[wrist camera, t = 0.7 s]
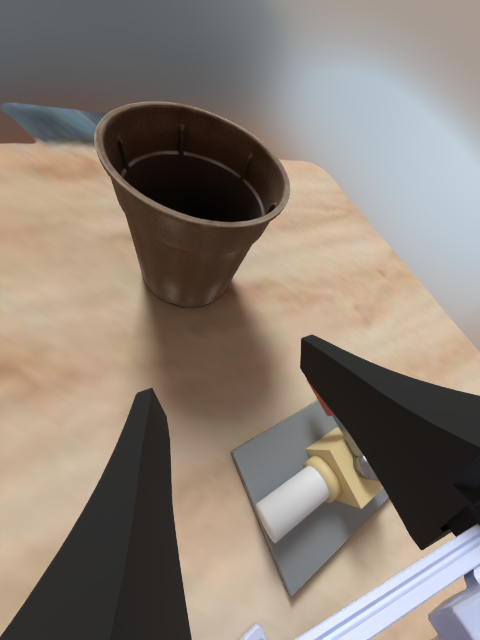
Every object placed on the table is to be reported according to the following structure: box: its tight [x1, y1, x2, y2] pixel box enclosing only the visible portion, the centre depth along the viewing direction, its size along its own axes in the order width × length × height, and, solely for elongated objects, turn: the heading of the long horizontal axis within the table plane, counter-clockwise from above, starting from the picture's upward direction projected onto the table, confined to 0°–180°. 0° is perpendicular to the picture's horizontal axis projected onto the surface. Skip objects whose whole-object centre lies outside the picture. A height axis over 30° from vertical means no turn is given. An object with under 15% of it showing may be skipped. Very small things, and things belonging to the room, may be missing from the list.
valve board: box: [230, 400, 389, 597], centre depth 24 cm, size 12×20×6 cm, turn 116°
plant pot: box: [94, 102, 290, 308], centre depth 26 cm, size 16×16×16 cm
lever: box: [307, 380, 379, 481], centre depth 23 cm, size 10×2×2 cm, turn 26°
